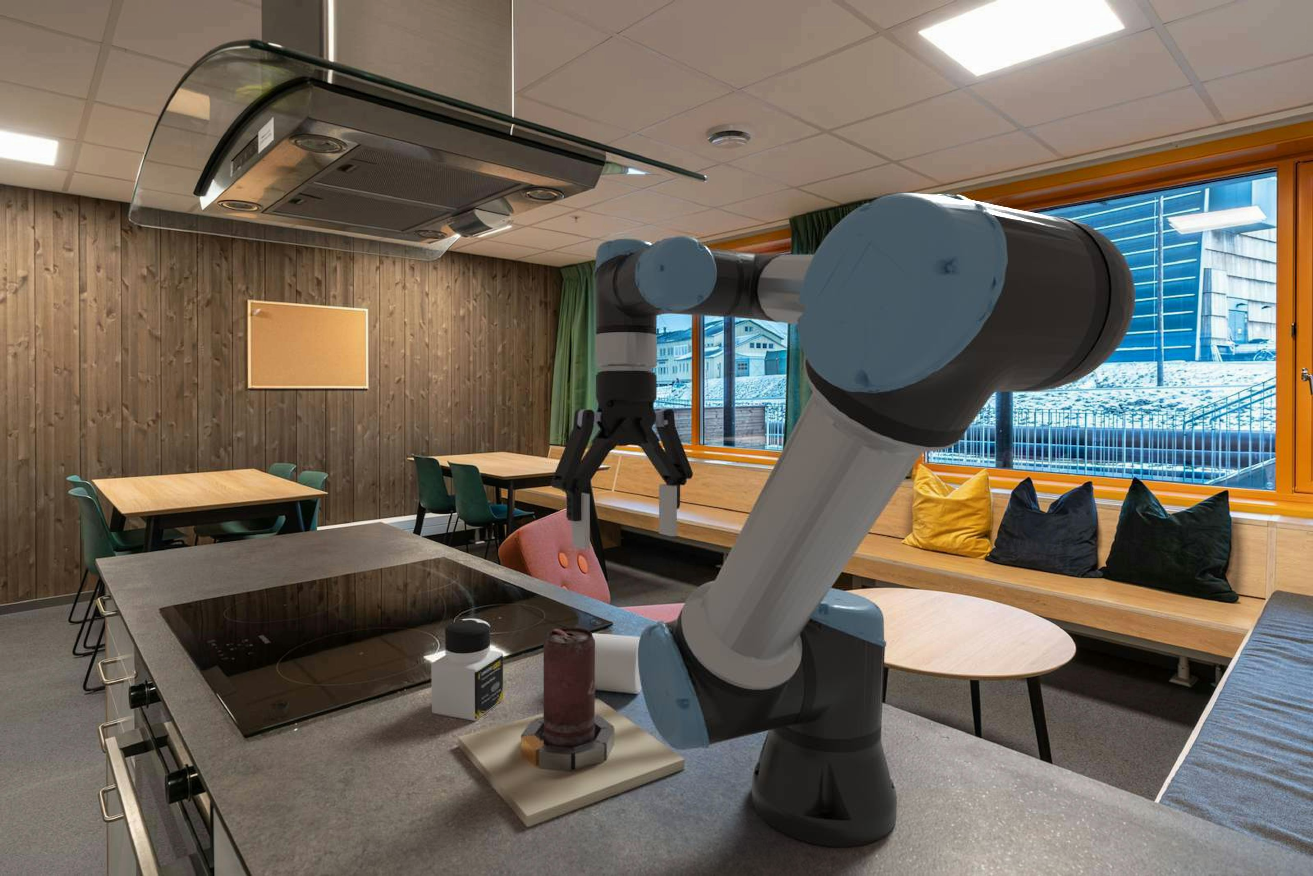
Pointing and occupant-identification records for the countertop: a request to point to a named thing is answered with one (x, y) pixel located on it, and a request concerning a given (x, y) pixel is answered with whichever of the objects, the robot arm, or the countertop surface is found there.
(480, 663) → the medicine bottle
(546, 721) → the can
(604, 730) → the socket
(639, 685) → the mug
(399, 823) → the countertop surface
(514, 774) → the hub board
